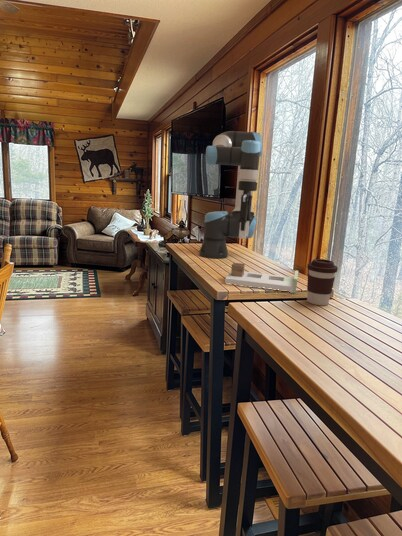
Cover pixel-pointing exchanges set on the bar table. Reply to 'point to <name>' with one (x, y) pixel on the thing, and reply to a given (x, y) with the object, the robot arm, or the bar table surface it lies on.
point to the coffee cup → (320, 281)
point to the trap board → (265, 281)
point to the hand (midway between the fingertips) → (243, 237)
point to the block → (237, 269)
